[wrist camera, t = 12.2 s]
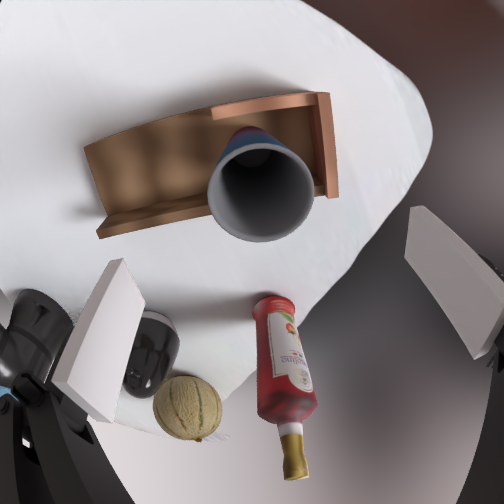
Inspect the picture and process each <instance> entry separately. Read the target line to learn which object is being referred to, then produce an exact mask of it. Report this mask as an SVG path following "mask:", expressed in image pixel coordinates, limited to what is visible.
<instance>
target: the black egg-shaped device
mask: <svg viewBox="0 0 504 504" xmlns="http://www.w3.org/2000/svg"><path fill="white" fill-rule="evenodd" d="M179 345H180V341H179V337H178V334H177V331H176V328H175V326H174V325H173V323H172V322H171V321H170V320H169V319H168V318H167V317H165V316H163V315H162V314H159V313H156V312H151V311H145V312H143V313H142V316H141V319H140V322H139V326H138V329H137V332H136V335H135V339H134V342H133V345H132V349H131V352H130V356H129V359H128V363H127V367H126V370H125V374H124V378H123V382H122V384H123V386H124V388H125V390H126V391H127V392H128V393H129V394H130V395H132V396H133V397H136V398H141V399H144V398H148V397H151V396H152V395H154V394H155V393H156V392H157V391H158V390H159V389H160V387H161V386H162V385H163V383H164V382H165V380H166V378H167V377H168V375H169V373H170V371H171V369H172V367H173V365H174V362H175V359H176V357H177V354H178V350H179Z"/></svg>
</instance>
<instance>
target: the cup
mask: <svg viewBox="0 0 504 504" xmlns="http://www.w3.org/2000/svg"><path fill="white" fill-rule="evenodd" d="M207 198H208V205H209V208H210V211H211V213H212V215H213V217H214V219H215V220H216V222H217V223H218V224H219V225H220V226H221V227H222V228H223V229H224V230H225V231H227V232H228V233H229V234H231V235H233V236H235V237H237V238H239V239H242V240H245V241H250V242H269V241H274V240H277V239H280V238H282V237H285V236H287V235H288V234H290V233H292V232H293V231H294V230H296V229H297V228H298V227H299V226H300V225H301V224H302V223H303V222H304V220H305V219H306V218H307V216H308V214H309V212H310V210H311V207H312V204H313V201H314V183H313V179H312V176H311V173H310V171H309V169H308V167H307V166H306V164H305V163H304V162H303V161H302V160H301V158H300V157H299V156H298V155H296V154H295V153H294V152H293V151H291V150H290V149H289V148H287V147H286V146H285V145H283V144H282V143H281V142H279V141H278V140H277V139H275V138H274V137H273V136H271V135H270V134H269V133H267V132H266V131H264V130H263V129H261V128H258V127H254V126H248V127H244V128H241V129H239V130H238V131H236V132H235V133H234V134H233V136H232V137H231V139H230V141H229V142H228V144H227V146H226V148H225V150H224V151H223V153H222V155H221V157H220V159H219V161H218V163H217V164H216V166H215V168H214V170H213V172H212V174H211V177H210V180H209V183H208V190H207Z"/></svg>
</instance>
